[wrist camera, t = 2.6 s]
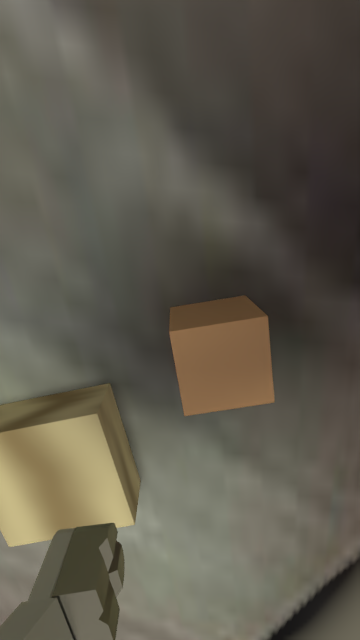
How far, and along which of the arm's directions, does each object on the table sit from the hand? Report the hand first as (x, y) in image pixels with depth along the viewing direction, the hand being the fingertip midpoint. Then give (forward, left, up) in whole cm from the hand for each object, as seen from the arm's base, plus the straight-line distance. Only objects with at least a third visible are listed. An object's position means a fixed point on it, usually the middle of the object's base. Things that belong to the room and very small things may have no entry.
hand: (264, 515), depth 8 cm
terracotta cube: (0, 0, -13) cm, 13 cm away
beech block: (+12, +7, -13) cm, 19 cm away
